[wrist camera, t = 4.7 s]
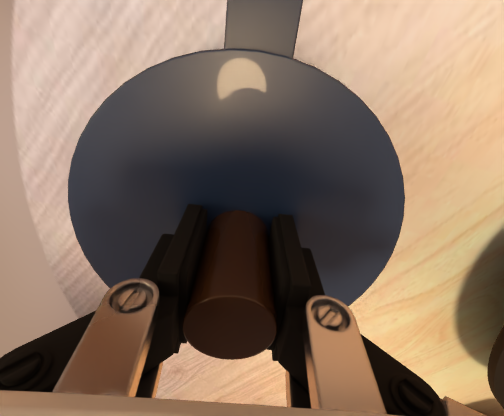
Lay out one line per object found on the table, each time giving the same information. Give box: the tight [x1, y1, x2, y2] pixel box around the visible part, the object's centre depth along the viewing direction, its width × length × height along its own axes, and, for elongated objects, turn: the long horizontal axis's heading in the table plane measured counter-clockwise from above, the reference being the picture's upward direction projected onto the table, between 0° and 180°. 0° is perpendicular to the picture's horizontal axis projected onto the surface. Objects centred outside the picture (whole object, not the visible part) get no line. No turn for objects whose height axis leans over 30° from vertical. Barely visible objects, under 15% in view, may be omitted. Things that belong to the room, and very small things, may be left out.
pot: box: [224, 0, 303, 58], centre depth 15 cm, size 13×18×8 cm
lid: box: [68, 48, 405, 360], centre depth 10 cm, size 14×14×6 cm
